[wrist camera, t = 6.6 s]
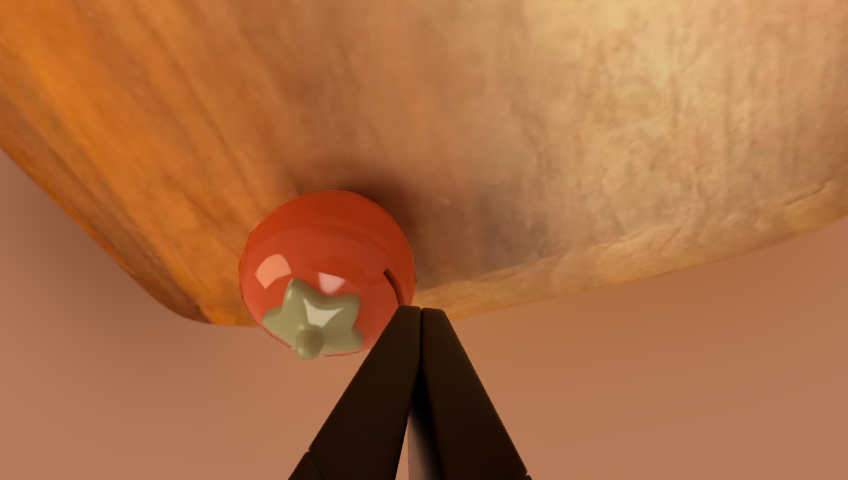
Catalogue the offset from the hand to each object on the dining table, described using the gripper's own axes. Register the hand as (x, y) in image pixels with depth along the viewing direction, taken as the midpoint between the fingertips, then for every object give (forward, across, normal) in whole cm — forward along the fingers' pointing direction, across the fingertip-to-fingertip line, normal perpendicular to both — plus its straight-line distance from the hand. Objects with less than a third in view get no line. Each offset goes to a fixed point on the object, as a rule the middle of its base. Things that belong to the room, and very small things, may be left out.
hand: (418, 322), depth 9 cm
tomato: (+12, +3, +7) cm, 15 cm away
